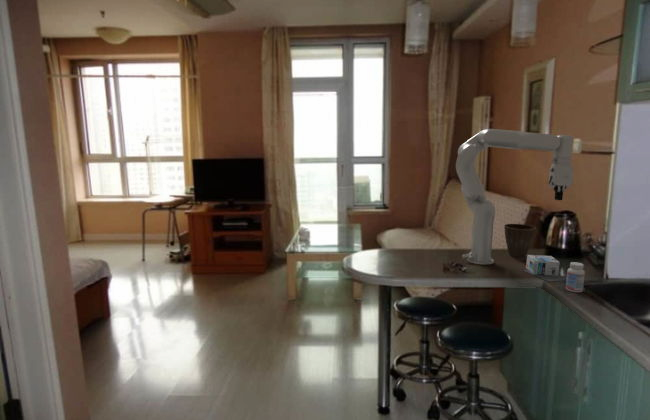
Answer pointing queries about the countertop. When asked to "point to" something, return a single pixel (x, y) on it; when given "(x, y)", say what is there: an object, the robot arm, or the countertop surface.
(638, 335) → the countertop surface
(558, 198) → the robot arm
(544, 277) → the mat
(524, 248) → the plant pot
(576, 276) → the pill bottle
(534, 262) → the light bulb box
